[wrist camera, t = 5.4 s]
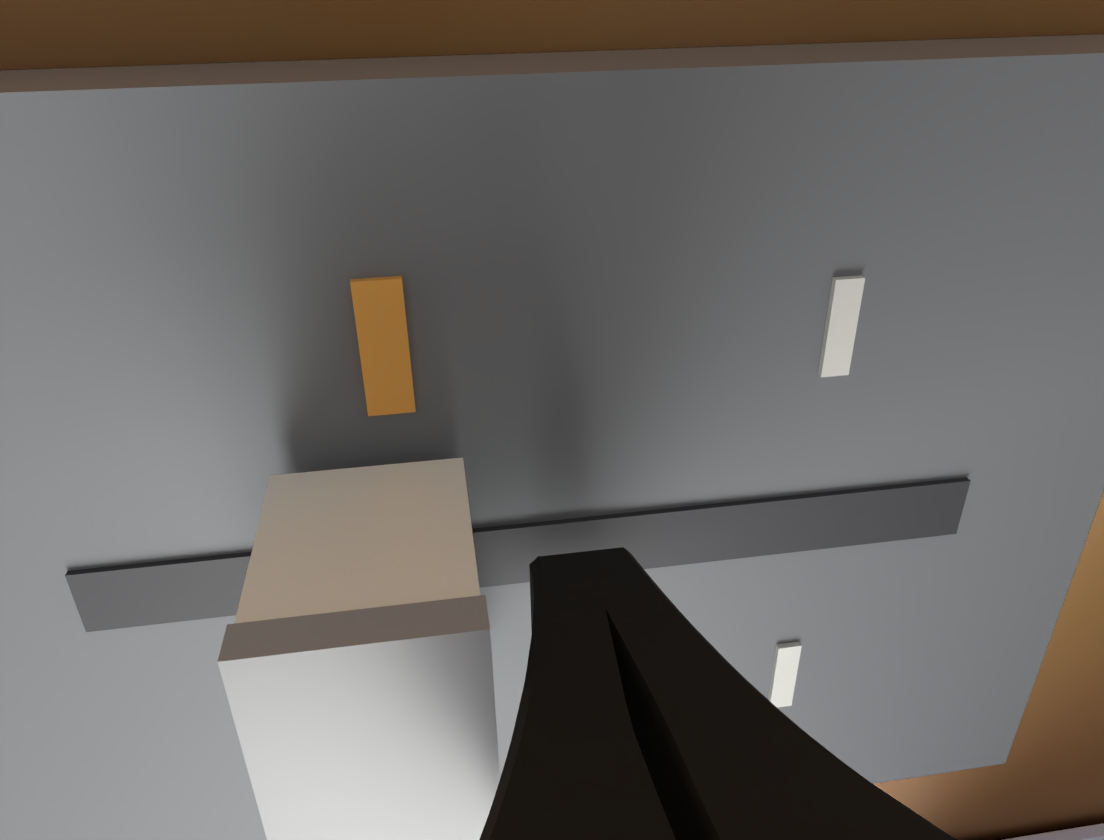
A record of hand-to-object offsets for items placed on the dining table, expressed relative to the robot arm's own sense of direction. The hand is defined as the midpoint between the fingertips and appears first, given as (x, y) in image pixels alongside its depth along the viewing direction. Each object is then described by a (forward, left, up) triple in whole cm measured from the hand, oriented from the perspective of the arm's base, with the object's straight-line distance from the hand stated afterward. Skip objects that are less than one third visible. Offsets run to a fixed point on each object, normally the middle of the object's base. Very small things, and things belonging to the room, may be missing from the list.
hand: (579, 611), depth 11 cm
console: (0, 0, -3) cm, 3 cm away
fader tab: (+3, 0, -1) cm, 3 cm away
